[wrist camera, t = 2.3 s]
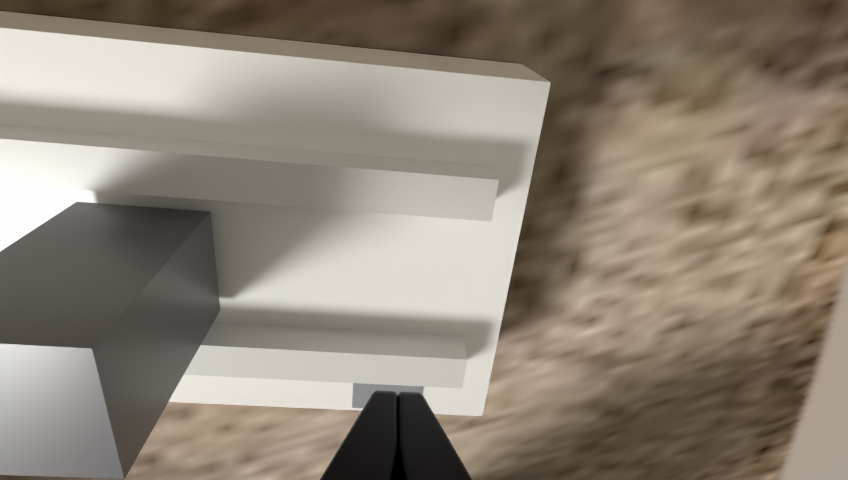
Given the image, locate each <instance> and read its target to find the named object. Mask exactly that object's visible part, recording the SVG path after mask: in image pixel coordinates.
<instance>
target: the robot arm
mask: <svg viewBox="0 0 848 480" xmlns="http://www.w3.org/2000/svg"><path fill="white" fill-rule="evenodd" d="M320 480H472V479H471V477H470V475H469V473H468V472H467V470H466V468H465V467H464V465H463V463H462V461H461V460H460V458H459V456H458V455H457V453H456V451H455V449H454V448H453V446H452V444H451V442H450V441H449V439H448V437H447V436H446V434H445V432H444V430H443V429H442V427H441V425H440V424H439V422H438V420H437V418H436V417H435V415H434V413H433V412H432V410H431V408H430V406H429V405H428V403H427V401H426V399H425V398H424V396H423V395H422V394H421V393H419V392H404V391H402V392H399V394H398V395H397V393H396V392H395V391H384V390H376V391H374V392H373V393H372V395H371V396H370V398H369V400H368V401H367V403H366V405H365V406H364V408H363V410H362V411H361V413H360V415H359V416H358V418H357V419H356V421H355V423H354V424H353V426H352V428H351V429H350V431H349V433H348V434H347V436H346V438H345V439H344V441H343V442H342V444H341V446H340V447H339V449H338V451H337V452H336V454H335V456H334V457H333V459H332V461H331V462H330V464H329V466H328V467H327V469H326V470H325V472H324V474H323V475H322V477H321V479H320Z"/></svg>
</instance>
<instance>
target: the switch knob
mask: <svg viewBox="0 0 848 480" xmlns="http://www.w3.org/2000/svg"><path fill="white" fill-rule="evenodd" d="M219 312H220V301H219V291H218V281H217V271H216V261H215V250H214V240H213V230H212V220H211V212H210V211H196V210H183V209H169V208H156V207H143V206H129V205H116V204H102V203H89V202H75V203H74V204H72V205H71V206H69V207H68V208H66V209H65V210H63V211H62V212H60V213H58V214H57V215H55V216H54V217H52V218H51V219H49V220H48V221H46V222H45V223H43V224H42V225H40V226H38V227H37V228H35V229H34V230H32V231H31V232H29V233H28V234H26V235H25V236H23V237H21V238H20V239H18V240H17V241H15V242H14V243H12V244H11V245H9V246H8V247H6V248H5V249H3V250H1V251H0V475H18V476H48V477H78V478H107V479H125V477H126V475H127V473H128V472H129V470H130V468H131V466H132V465H133V463H134V461H135V459H136V458H137V456H138V454H139V452H140V450H141V449H142V447H143V445H144V443H145V442H146V440H147V438H148V436H149V435H150V433H151V431H152V429H153V428H154V426H155V424H156V422H157V421H158V419H159V417H160V415H161V414H162V412H163V410H164V408H165V407H166V405H167V403H168V401H169V400H170V398H171V396H172V394H173V393H174V391H175V389H176V387H177V386H178V384H179V382H180V380H181V379H182V377H183V375H184V373H185V372H186V370H187V368H188V366H189V365H190V363H191V361H192V359H193V357H194V356H195V354H196V352H197V350H198V349H199V347H200V345H201V343H202V342H203V340H204V338H205V336H206V335H207V333H208V331H209V329H210V328H211V326H212V324H213V322H214V321H215V319H216V317H217V315H218V314H219Z"/></svg>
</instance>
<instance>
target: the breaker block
mask: <svg viewBox="0 0 848 480" xmlns="http://www.w3.org/2000/svg"><path fill="white" fill-rule="evenodd" d="M550 84H551V82H550V81H548V80H546V79H545V78H543V77H542V76H540V75H538V74H537V73H535V72H534V71H532V70H531V69H529V68H527V67H526V66H524V65H523V64H516V63H506V62H496V61H487V60H477V59H467V58H457V57H447V56H437V55H428V54H418V53H408V52H398V51H388V50H378V49H369V48H359V47H349V46H339V45H329V44H319V43H310V42H300V41H290V40H280V39H270V38H260V37H251V36H241V35H231V34H221V33H211V32H202V31H192V30H182V29H172V28H162V27H152V26H143V25H133V24H123V23H113V22H103V21H93V20H84V19H74V18H64V17H54V16H44V15H34V14H25V13H15V12H5V11H0V251H1V250H3V249H5V248H6V247H8V246H9V245H11V244H12V243H14V242H15V241H17V240H18V239H20V238H21V237H23V236H25V235H26V234H28V233H29V232H31V231H32V230H34V229H35V228H37V227H38V226H40V225H42V224H43V223H45V222H46V221H48V220H49V219H51V218H52V217H54V216H55V215H57V214H58V213H60V212H62V211H63V210H65V209H66V208H68V207H69V206H71V205H72V204H74V203H75V202H89V203H102V204H116V205H129V206H143V207H156V208H169V209H183V210H196V211H210V212H211V220H212V230H213V240H214V250H215V261H216V271H217V281H218V291H219V301H220V312H219V314H218V315H217V317H216V319H215V321H214V322H213V324H212V326H211V328H210V329H209V331H208V333H207V335H206V336H205V338H204V340H203V342H202V343H201V345H200V347H199V349H198V350H197V352H196V354H195V356H194V357H193V359H192V361H191V363H190V365H189V366H188V368H187V370H186V372H185V373H184V375H183V377H182V379H181V380H180V382H179V384H178V386H177V387H176V389H175V391H174V393H173V394H172V396H171V398H170V400H169V401H168V402H185V403H207V404H229V405H251V406H273V407H295V408H317V409H339V410H361V411H362V410H363V408H364V406H365V405H366V403H367V401H368V400H369V398H370V396H371V395H372V393H373V392H374V391H376V390H384V391H395V392H396V393H397V395H398V394H399V392H402V391H404V392H419V393H421V394H422V395H423V396H424V398H425V399H426V401H427V403H428V405H429V406H430V408H431V410H432V412H433V413H434V414H449V415H471V416H482V415H483V410H484V405H485V400H486V395H487V390H488V385H489V381H490V376H491V371H492V366H493V361H494V356H495V351H496V347H497V342H498V337H499V332H500V327H501V322H502V317H503V313H504V308H505V303H506V298H507V293H508V288H509V283H510V279H511V274H512V269H513V264H514V259H515V254H516V250H517V245H518V240H519V235H520V230H521V225H522V220H523V216H524V211H525V206H526V201H527V196H528V191H529V186H530V182H531V177H532V172H533V167H534V162H535V157H536V152H537V148H538V143H539V138H540V133H541V128H542V123H543V118H544V114H545V109H546V104H547V99H548V94H549V89H550Z"/></svg>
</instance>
